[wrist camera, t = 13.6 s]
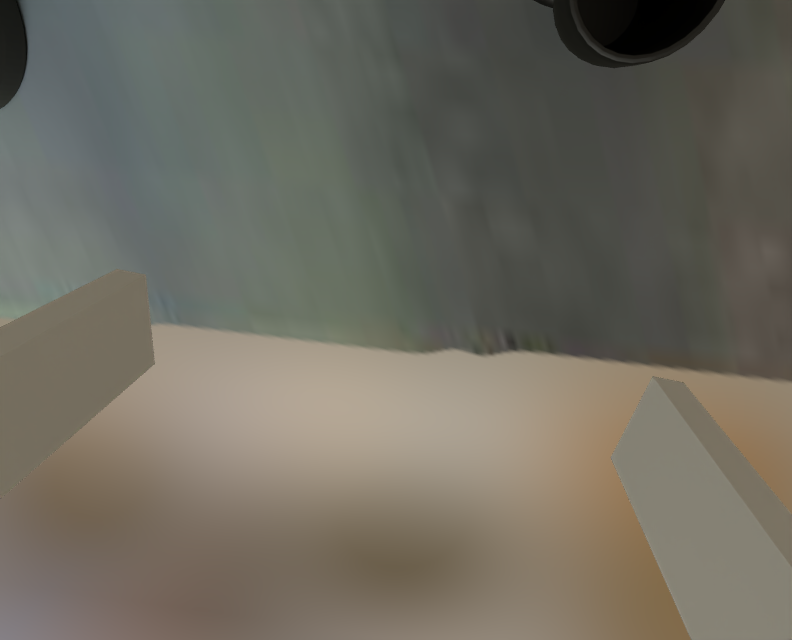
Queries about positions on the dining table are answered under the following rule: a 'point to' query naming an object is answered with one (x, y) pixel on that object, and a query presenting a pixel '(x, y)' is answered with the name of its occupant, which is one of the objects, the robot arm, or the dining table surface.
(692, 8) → the mug
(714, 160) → the dining table surface
